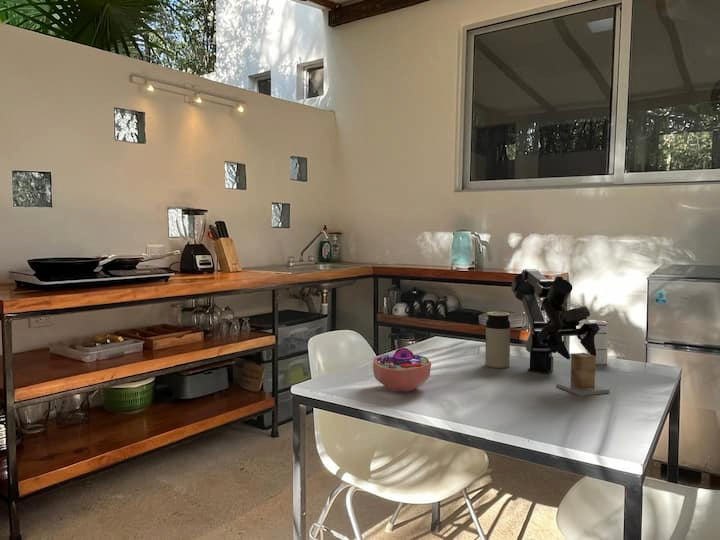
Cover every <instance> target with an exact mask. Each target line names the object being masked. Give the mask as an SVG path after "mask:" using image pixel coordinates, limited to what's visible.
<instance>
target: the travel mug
mask: <svg viewBox="0 0 720 540" xmlns="http://www.w3.org/2000/svg"><path fill="white" fill-rule="evenodd" d="M486 315H487V320H486V322H485V355H484V356H485V357H484V358H485V359H484V360H485V362H484V363H485V366H487V367H489V368H493V369H494V368H495V369H506V368H508V367H510V364H511V363H510V361H511V360H510V359H511V358H510V355H511V353H510V352H511V348H510V347H511V322H510V320H509V317H510V315H511V314H510V313H509V312H505V311H489V312H488V311H487V313H486Z"/></svg>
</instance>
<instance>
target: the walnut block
mask: <svg viewBox="0 0 720 540" xmlns="http://www.w3.org/2000/svg"><path fill="white" fill-rule="evenodd" d="M570 359H571V360H570V382H571V385H573V386H575V387H578V388H581V389H584V388H594V387H595V384H596V383H595V382H596V364H595V356H594V355H590V354H587V353H586V352H577V353H571V355H570Z"/></svg>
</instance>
